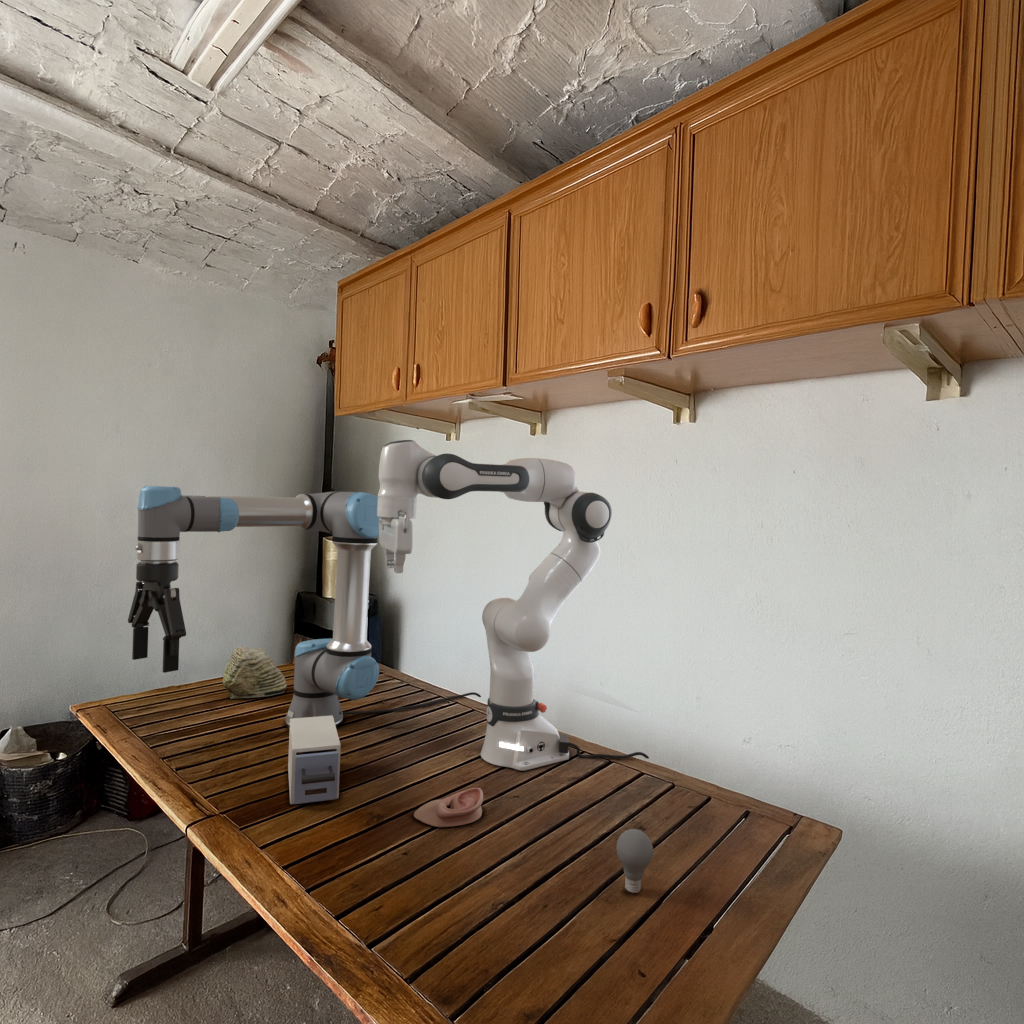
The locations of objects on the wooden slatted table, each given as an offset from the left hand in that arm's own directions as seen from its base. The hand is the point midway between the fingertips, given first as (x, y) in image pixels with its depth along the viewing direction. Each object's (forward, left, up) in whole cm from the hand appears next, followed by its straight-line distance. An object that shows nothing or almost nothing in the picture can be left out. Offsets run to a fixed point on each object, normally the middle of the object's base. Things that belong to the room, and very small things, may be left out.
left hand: (154, 664), depth 130 cm
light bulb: (-40, +89, -28) cm, 102 cm away
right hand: (-41, +25, +20) cm, 52 cm away
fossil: (-49, -47, -28) cm, 73 cm away
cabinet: (-27, +17, -28) cm, 42 cm away
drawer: (-24, +22, -27) cm, 42 cm away
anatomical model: (-37, +49, -28) cm, 68 cm away
